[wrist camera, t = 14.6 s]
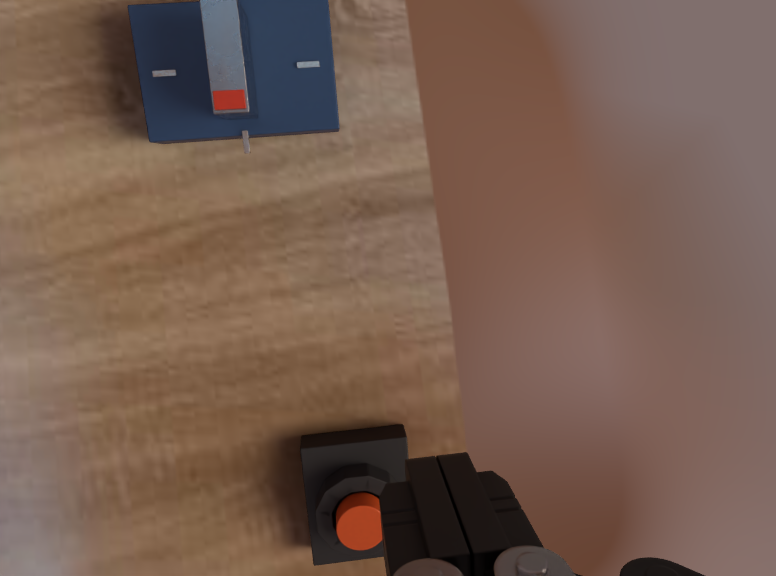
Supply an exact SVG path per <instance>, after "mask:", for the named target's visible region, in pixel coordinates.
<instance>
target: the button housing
mask: <svg viewBox="0 0 776 576" xmlns="http://www.w3.org/2000/svg"><path fill="white" fill-rule="evenodd" d="M300 453H301V462H302V470H303V479H304V487H305V496H306V504H307V513H308V521H309V530H310V538H311V547H312V555H313V564H314V565H323V564H331V563H338V562H346V561H353V560H361V559H369V558H376V557H384V551H383V539H382V540H381V542H380V543H379V544H377V545H376V546H374V547H372V548H370V549H367V550H353V549H350V548H348V547H346V546H345V545H344V544H343V543H342V542H341V541H340V540H339V538H338V536H337V532H336V511H337V508H338V506H339V504H340V503H341V501H342V500H343V499H344V498H346V497H347V496H349V495H351V494H354V493H358V492H365V493H369V494H372V495H374V496H376V497H377V498H378V499H379V496H380V494H381V492H382V490H383V488H384V486H385V484H386V483H395V482H403V481H406V478H405V459H408V446H407V436H406V432H405V429H404V425H394V426H385V427H376V428H367V429H358V430H349V431H340V432H331V433H322V434H314V435H305V436H302V437H301V446H300Z"/></svg>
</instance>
